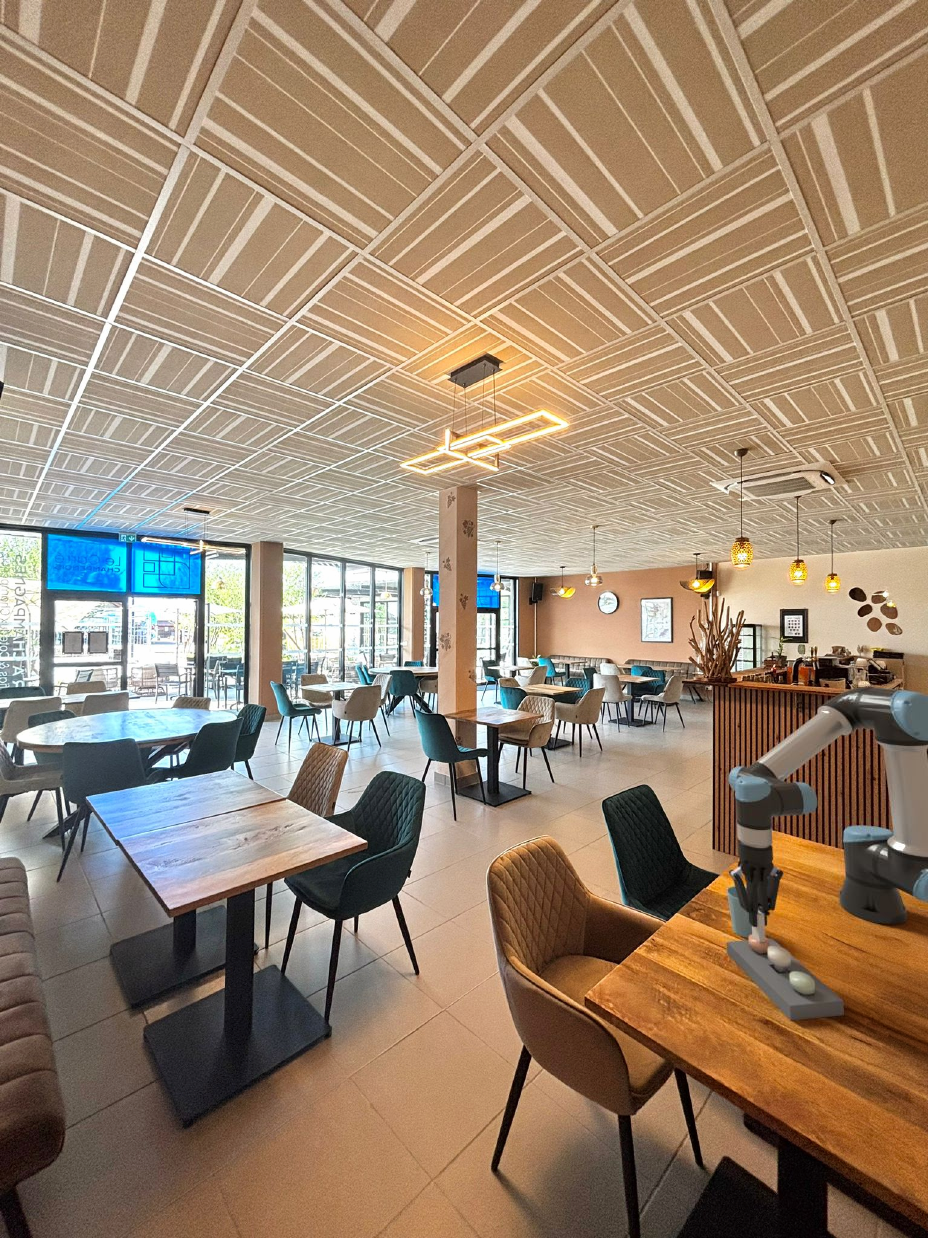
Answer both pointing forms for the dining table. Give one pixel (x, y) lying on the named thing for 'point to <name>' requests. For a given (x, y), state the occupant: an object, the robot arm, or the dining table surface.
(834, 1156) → the dining table surface
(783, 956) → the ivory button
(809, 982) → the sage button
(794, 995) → the gray rectangular slab
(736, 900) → the cup
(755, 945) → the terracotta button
